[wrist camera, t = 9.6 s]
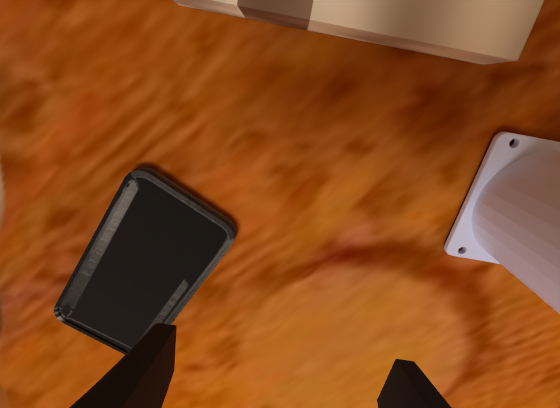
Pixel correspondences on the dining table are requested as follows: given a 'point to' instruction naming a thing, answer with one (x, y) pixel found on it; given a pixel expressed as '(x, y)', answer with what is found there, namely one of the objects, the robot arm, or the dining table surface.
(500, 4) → the board
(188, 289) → the phone
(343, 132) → the dining table surface
